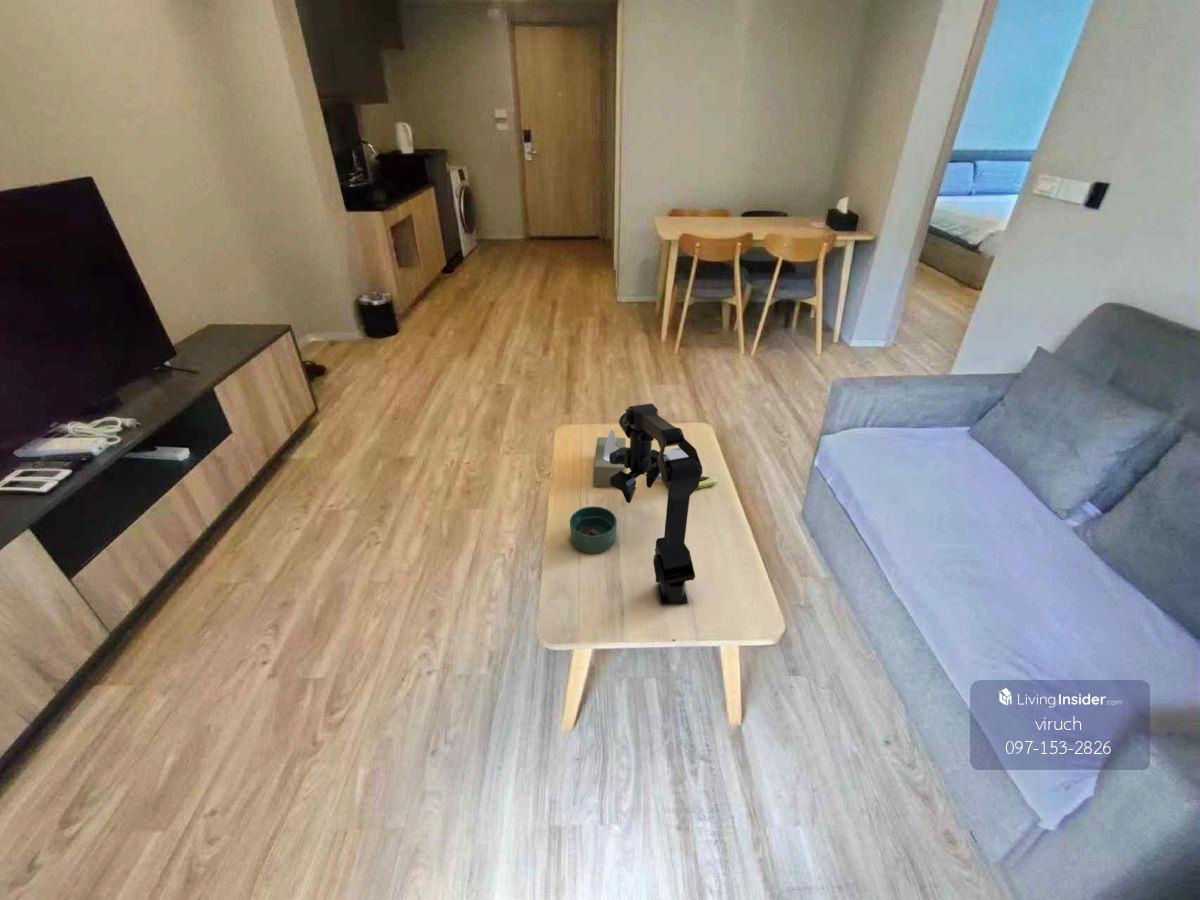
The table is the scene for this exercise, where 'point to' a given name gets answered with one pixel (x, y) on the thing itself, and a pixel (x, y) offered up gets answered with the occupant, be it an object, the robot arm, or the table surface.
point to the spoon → (589, 531)
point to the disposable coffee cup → (676, 454)
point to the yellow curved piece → (703, 482)
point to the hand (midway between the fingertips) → (638, 494)
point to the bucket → (597, 520)
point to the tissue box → (606, 459)
